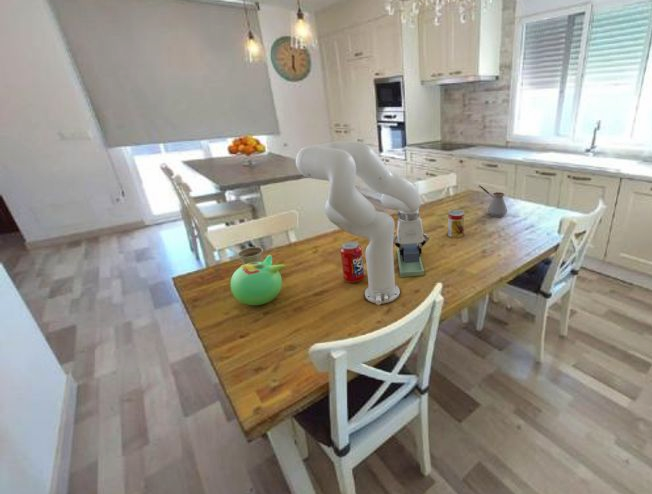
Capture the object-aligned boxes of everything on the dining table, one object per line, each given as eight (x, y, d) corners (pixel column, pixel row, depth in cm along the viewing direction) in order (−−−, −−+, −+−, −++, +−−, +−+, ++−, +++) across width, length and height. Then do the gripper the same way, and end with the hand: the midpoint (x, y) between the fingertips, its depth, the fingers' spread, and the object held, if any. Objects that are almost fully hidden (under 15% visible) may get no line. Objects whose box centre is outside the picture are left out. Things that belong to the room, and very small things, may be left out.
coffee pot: (510, 215, 189) (513, 190, 183) (498, 219, 183) (500, 194, 176) (483, 206, 204) (484, 183, 198) (470, 210, 198) (472, 186, 192)
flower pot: (267, 262, 140) (263, 245, 136) (266, 273, 132) (262, 254, 128) (243, 267, 137) (239, 249, 133) (241, 277, 129) (236, 258, 125)
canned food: (466, 236, 162) (467, 214, 157) (452, 238, 160) (452, 216, 155) (458, 230, 169) (459, 209, 164) (445, 233, 166) (445, 211, 161)
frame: (424, 275, 128) (424, 270, 128) (400, 277, 127) (400, 272, 127) (417, 250, 149) (417, 246, 148) (397, 251, 148) (397, 247, 147)
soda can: (342, 275, 129) (338, 242, 123) (362, 272, 131) (358, 239, 125) (345, 285, 122) (341, 250, 116) (366, 281, 125) (362, 247, 118)
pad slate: (419, 261, 128) (419, 253, 126) (404, 263, 127) (404, 254, 126) (417, 251, 136) (416, 243, 135) (402, 252, 136) (402, 244, 134)
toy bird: (229, 298, 116) (218, 262, 110) (276, 280, 127) (268, 247, 121) (246, 321, 104) (235, 282, 98) (296, 299, 115) (288, 263, 109)
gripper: (387, 220, 120) (390, 262, 127) (432, 217, 121) (433, 258, 129) (386, 213, 127) (389, 253, 134) (429, 210, 128) (430, 250, 136)
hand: (410, 255), depth 131 cm, fingers closed on pad slate, 6 cm apart
